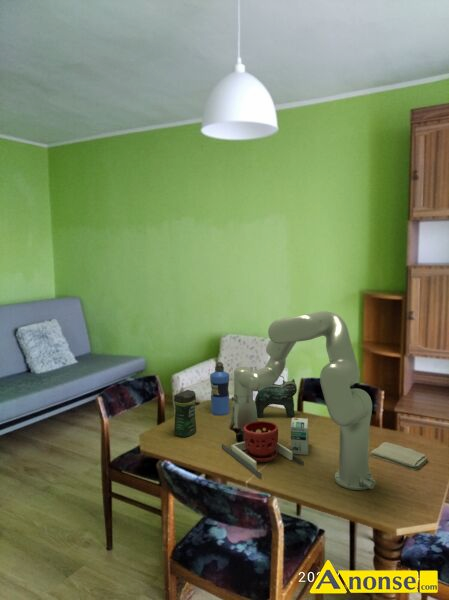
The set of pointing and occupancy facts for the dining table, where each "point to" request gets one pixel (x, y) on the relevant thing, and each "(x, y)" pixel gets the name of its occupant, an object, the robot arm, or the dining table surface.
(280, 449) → the white u-shaped frame
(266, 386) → the robot arm
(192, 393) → the coffee jar
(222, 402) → the water bottle
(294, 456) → the lane rails
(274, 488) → the dining table surface
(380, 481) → the dining table surface
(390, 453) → the washcloth
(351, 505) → the dining table surface
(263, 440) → the plant pot
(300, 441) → the light bulb box
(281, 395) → the ceramic cat
